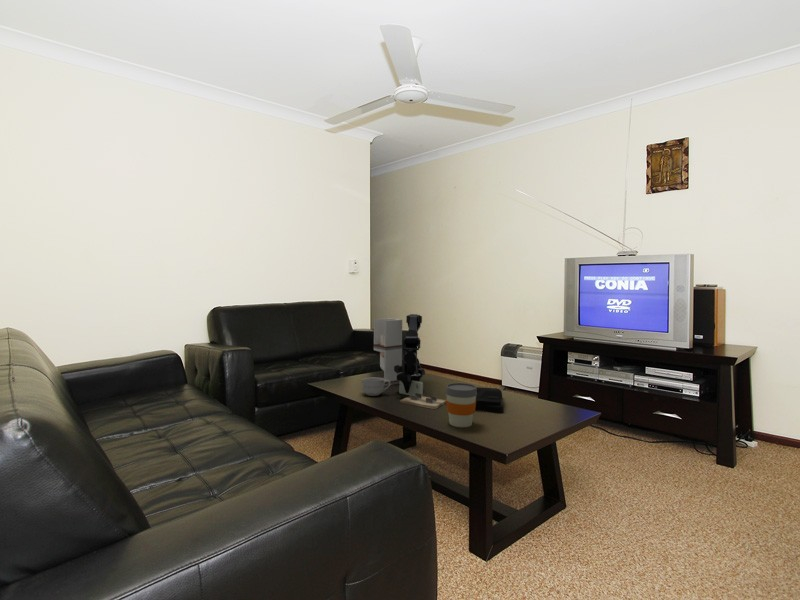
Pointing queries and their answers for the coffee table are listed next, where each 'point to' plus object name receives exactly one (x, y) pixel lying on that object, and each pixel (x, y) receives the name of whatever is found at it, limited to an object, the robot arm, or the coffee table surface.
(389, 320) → the white stacked tower
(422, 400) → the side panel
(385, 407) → the coffee table surface
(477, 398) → the gaming console
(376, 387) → the teacup
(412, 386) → the door slab
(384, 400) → the coffee table surface
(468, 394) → the reusable coffee cup
